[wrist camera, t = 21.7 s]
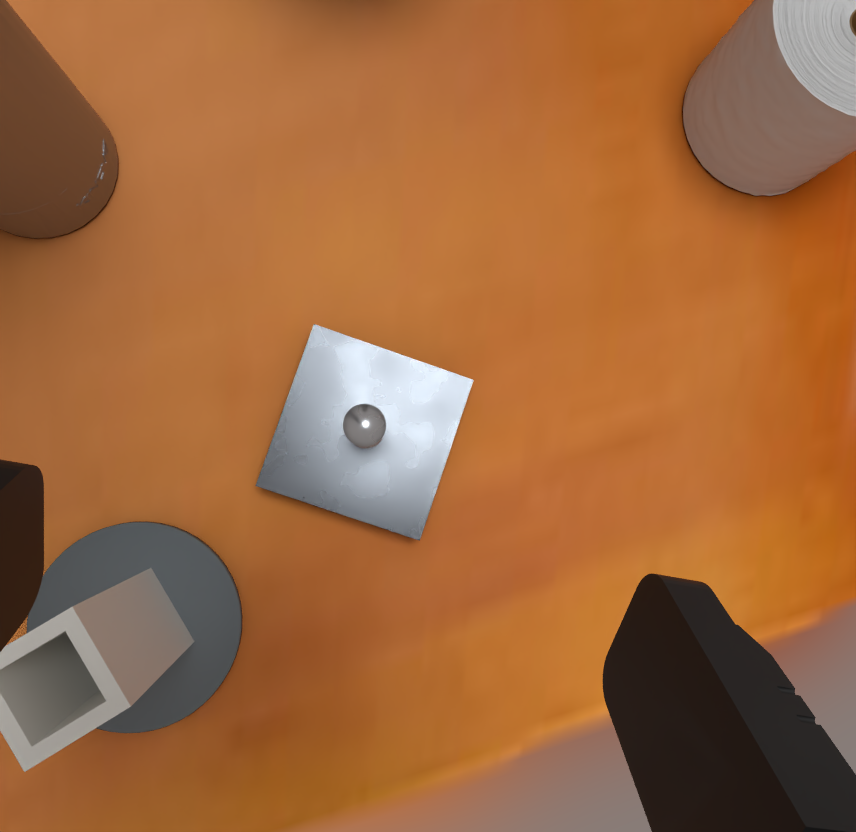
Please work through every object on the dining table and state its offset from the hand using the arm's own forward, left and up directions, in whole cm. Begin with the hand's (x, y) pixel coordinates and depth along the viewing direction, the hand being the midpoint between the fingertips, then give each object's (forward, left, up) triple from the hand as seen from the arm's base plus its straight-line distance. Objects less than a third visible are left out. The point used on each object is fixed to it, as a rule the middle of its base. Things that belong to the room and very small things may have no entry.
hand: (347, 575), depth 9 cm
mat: (-10, -12, -31) cm, 35 cm away
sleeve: (-10, -12, -31) cm, 35 cm away
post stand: (-1, +3, -31) cm, 32 cm away
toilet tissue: (+17, +32, -32) cm, 48 cm away
